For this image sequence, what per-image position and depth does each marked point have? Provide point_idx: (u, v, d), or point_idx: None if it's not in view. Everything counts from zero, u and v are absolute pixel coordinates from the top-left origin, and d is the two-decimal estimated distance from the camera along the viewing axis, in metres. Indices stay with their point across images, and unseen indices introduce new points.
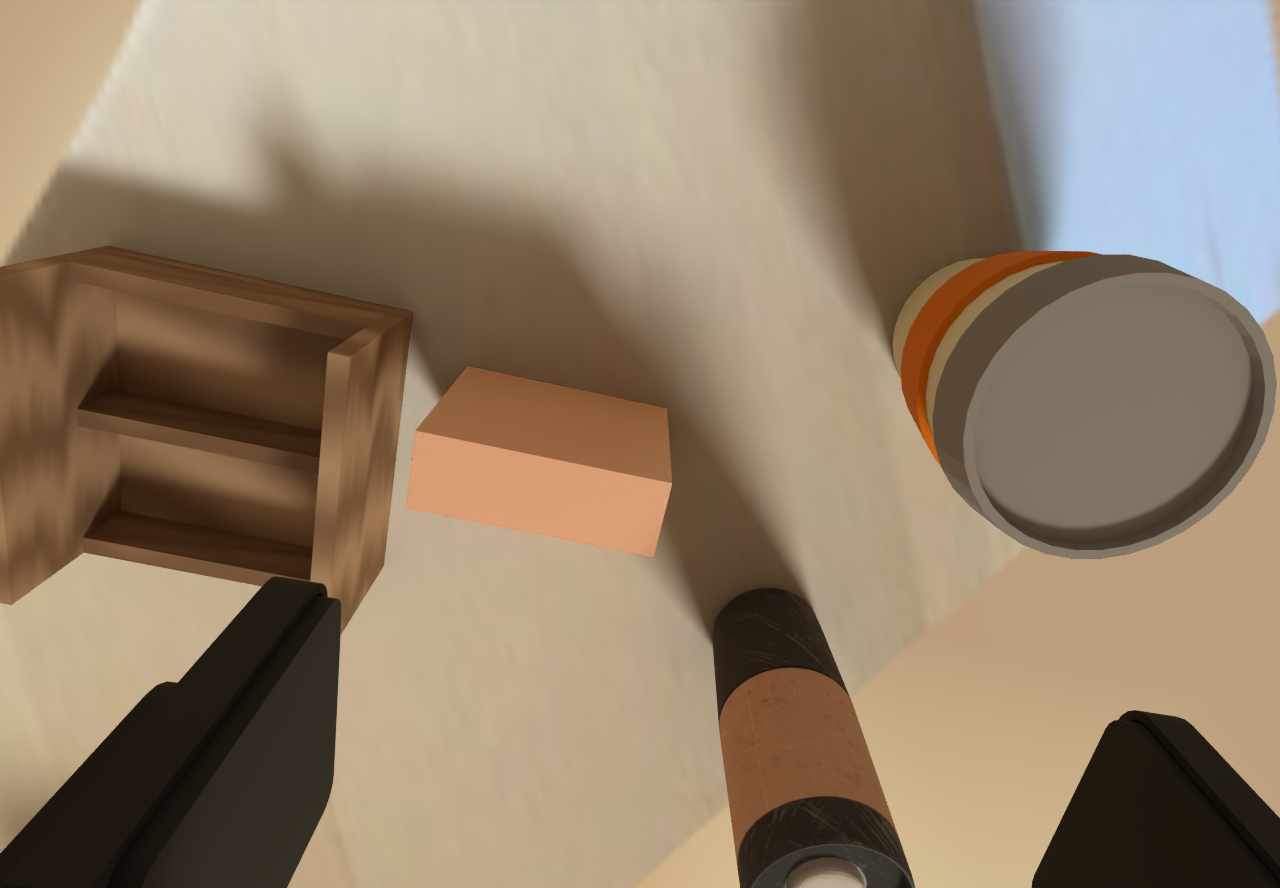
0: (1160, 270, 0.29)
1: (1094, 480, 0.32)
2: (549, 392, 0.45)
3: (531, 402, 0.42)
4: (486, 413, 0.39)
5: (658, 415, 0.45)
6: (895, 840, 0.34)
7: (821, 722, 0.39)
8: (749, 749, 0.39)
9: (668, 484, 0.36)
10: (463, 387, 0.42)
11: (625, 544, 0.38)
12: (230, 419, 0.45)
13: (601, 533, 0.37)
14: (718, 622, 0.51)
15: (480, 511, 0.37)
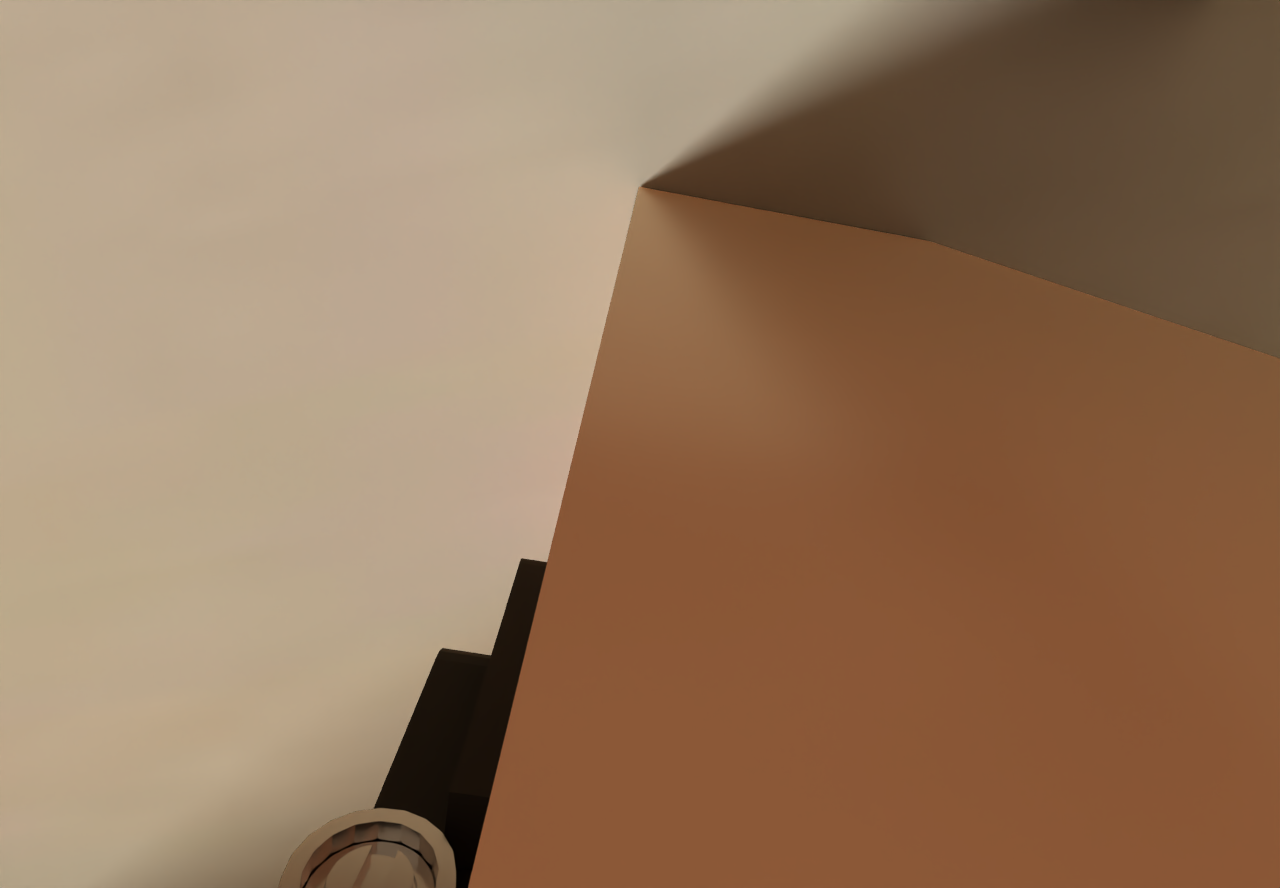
0: None
1: None
2: None
3: None
4: None
5: None
6: None
7: None
8: None
9: None
10: None
11: None
12: None
13: None
14: None
15: None
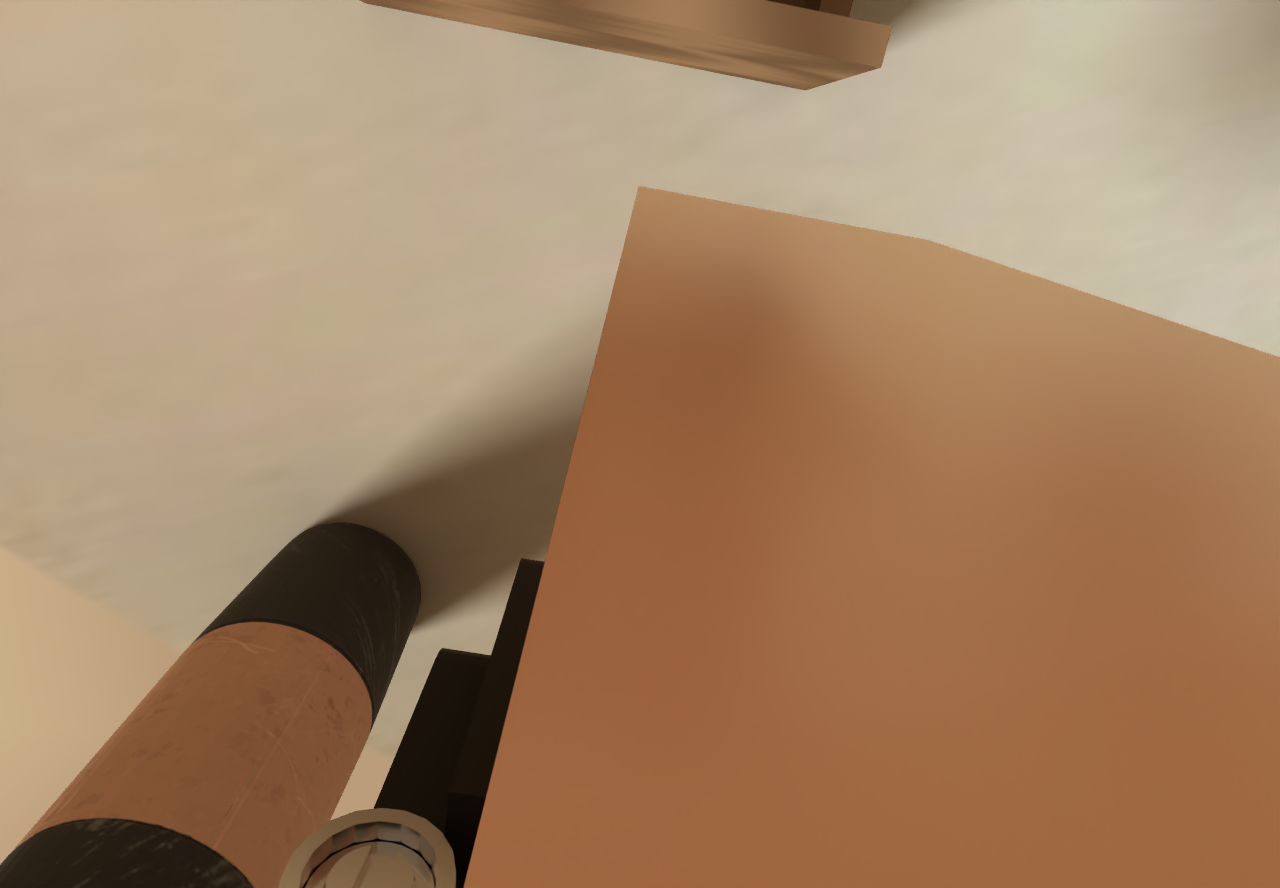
0: None
1: None
2: None
3: None
4: None
5: None
6: None
7: (332, 802, 0.27)
8: (268, 733, 0.25)
9: None
10: None
11: None
12: None
13: None
14: (361, 534, 0.36)
15: None
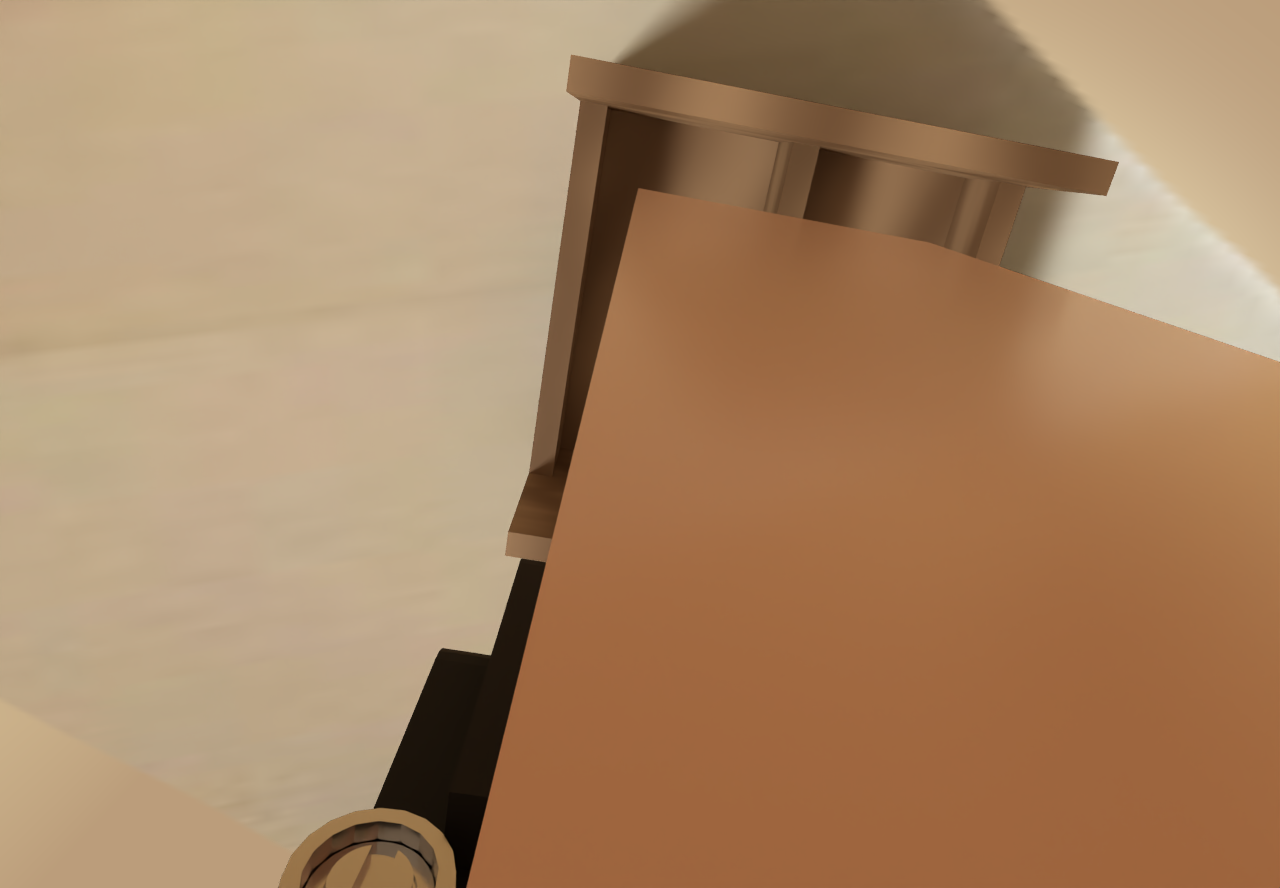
0: None
1: None
2: None
3: None
4: None
5: None
6: None
7: None
8: None
9: None
10: None
11: None
12: None
13: None
14: None
15: None
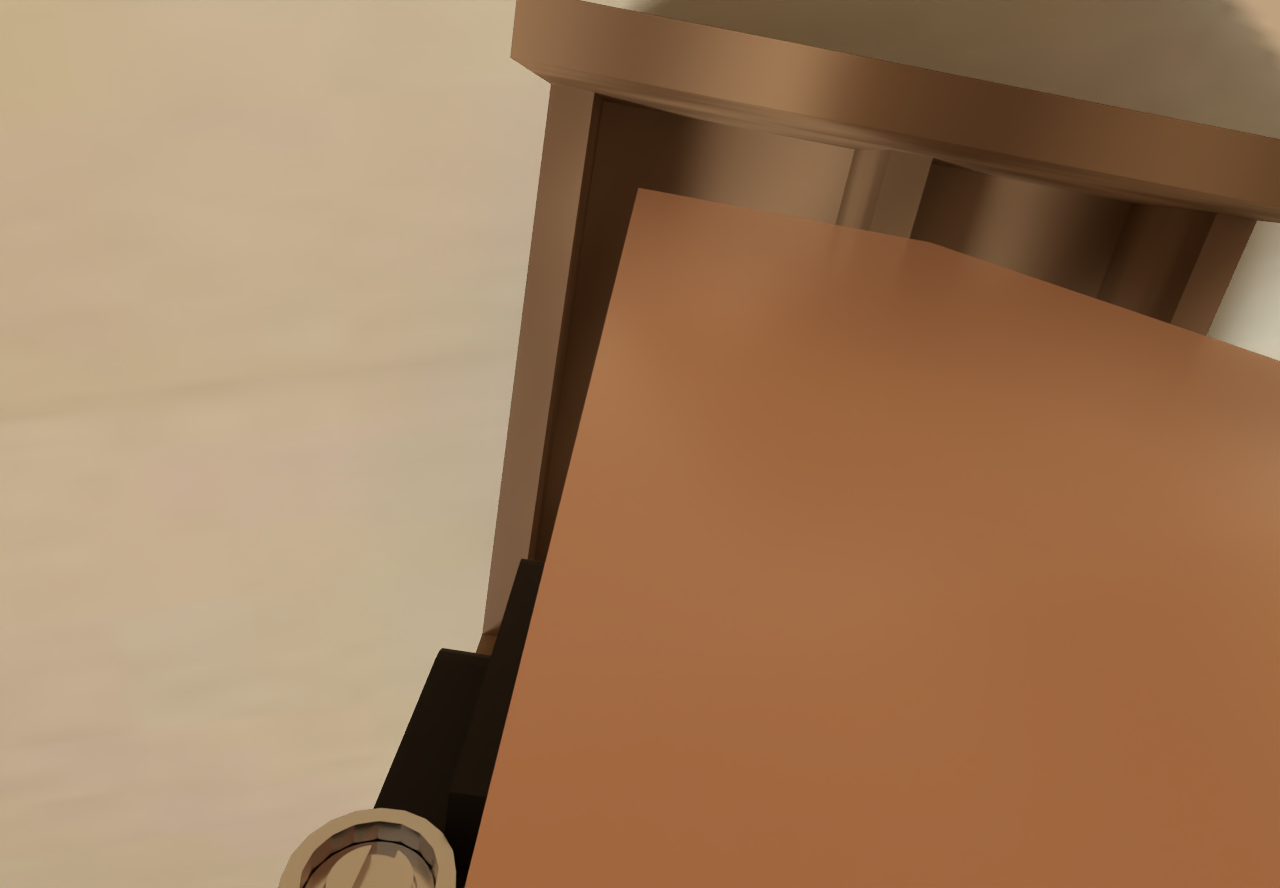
0: None
1: None
2: None
3: None
4: None
5: None
6: None
7: None
8: None
9: None
10: None
11: None
12: None
13: None
14: None
15: None
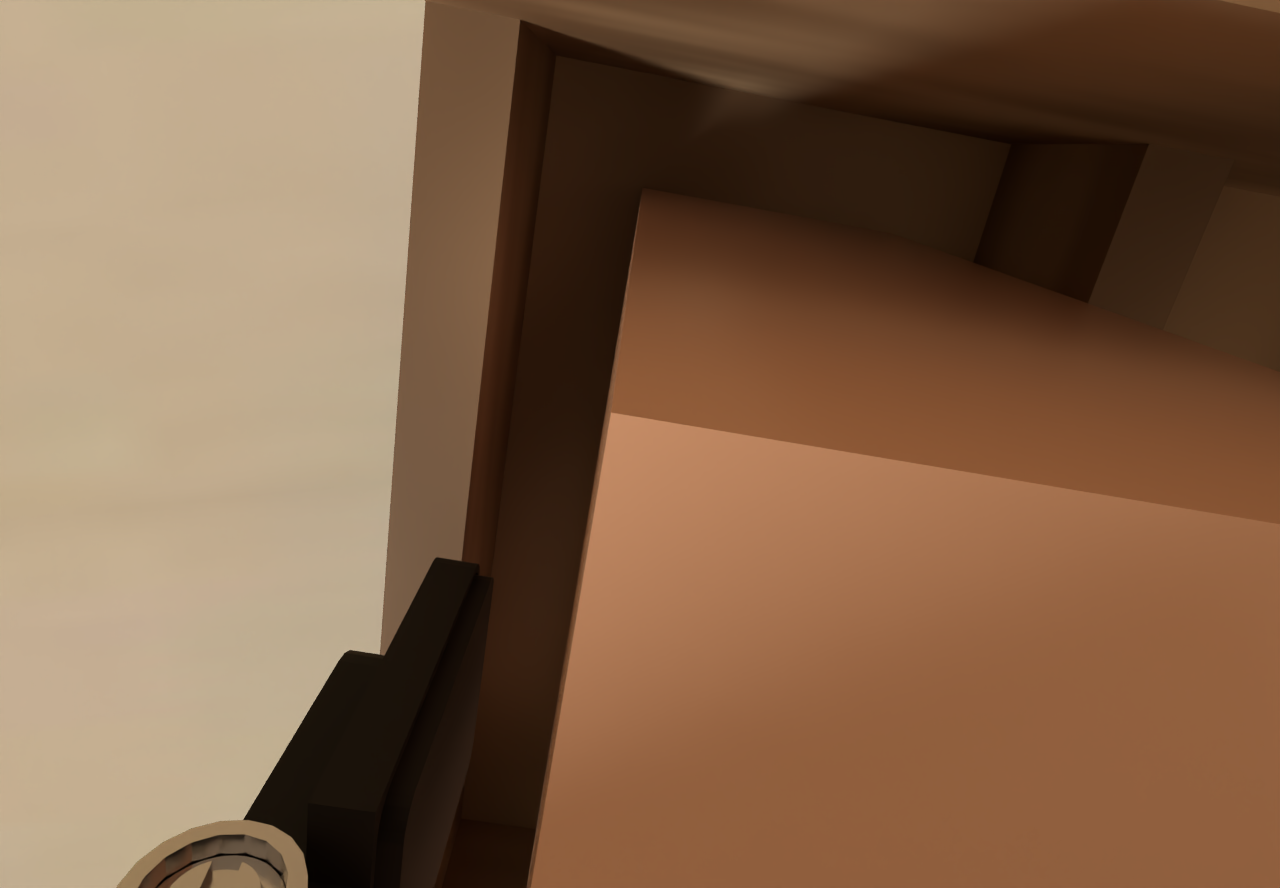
0: None
1: None
2: None
3: None
4: None
5: None
6: None
7: None
8: None
9: None
10: None
11: None
12: None
13: None
14: None
15: None
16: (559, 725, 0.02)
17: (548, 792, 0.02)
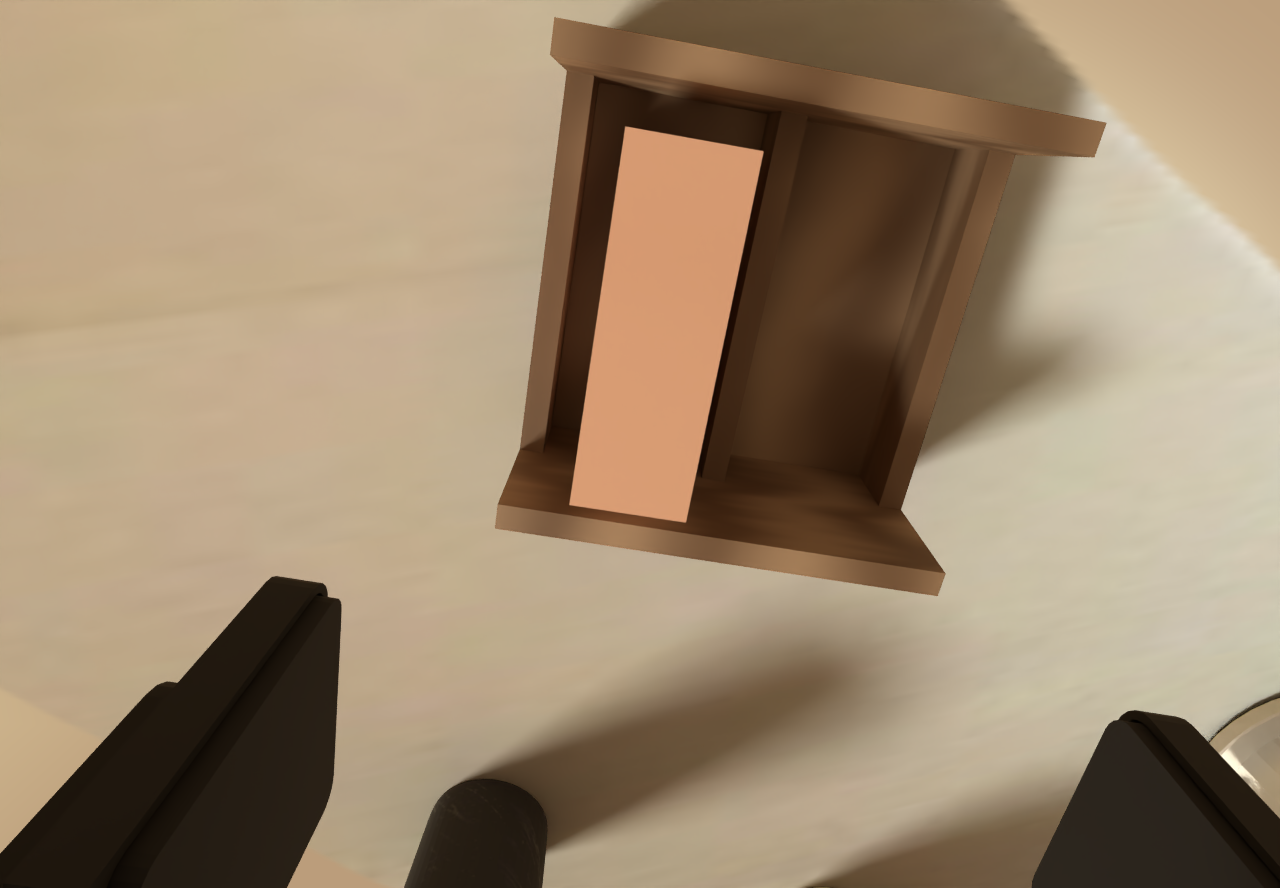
0: None
1: None
2: None
3: None
4: None
5: None
6: None
7: None
8: None
9: (684, 518, 0.27)
10: None
11: (587, 466, 0.26)
12: None
13: (602, 434, 0.25)
14: (504, 793, 0.45)
15: (626, 253, 0.23)
16: (620, 161, 0.22)
17: None
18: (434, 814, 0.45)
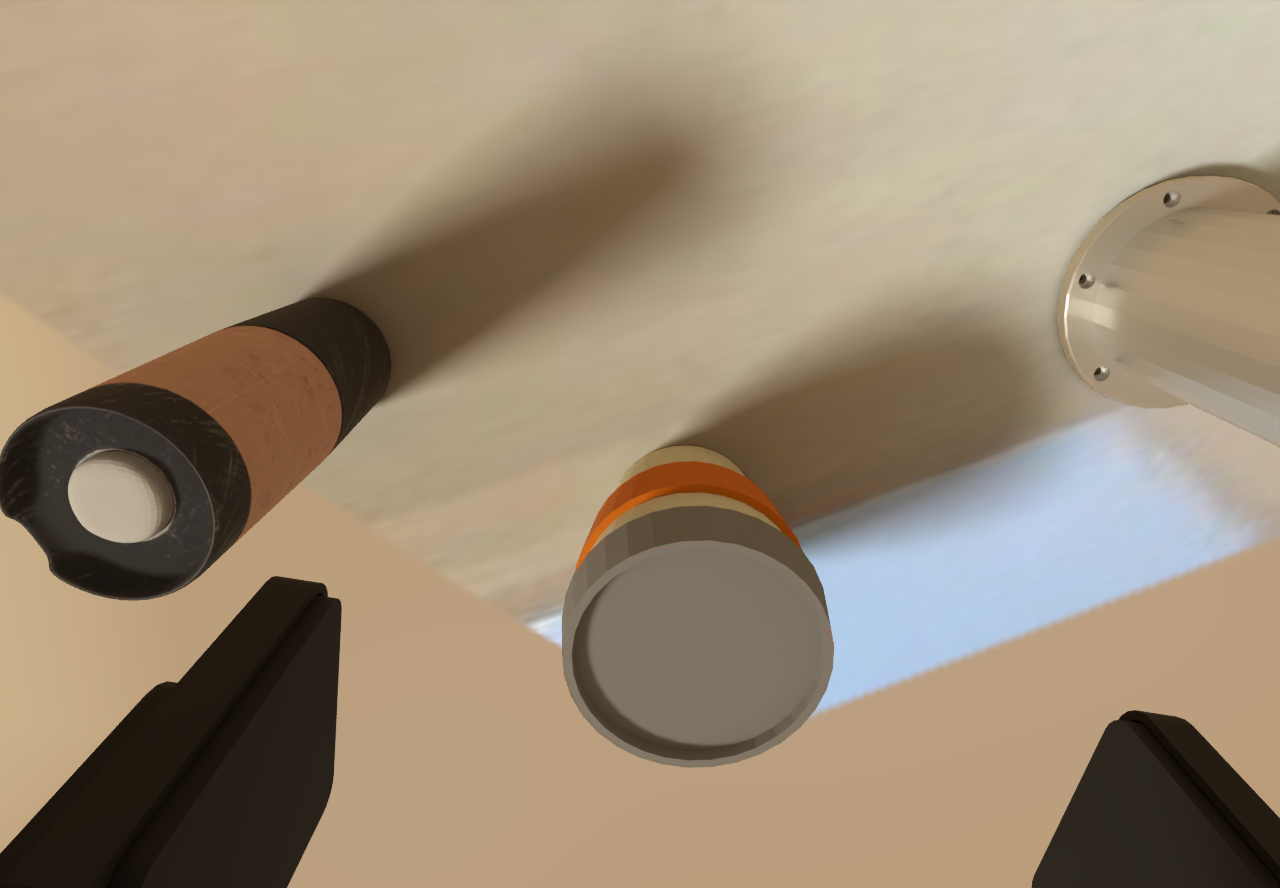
0: None
1: (637, 653, 0.35)
2: None
3: None
4: None
5: None
6: None
7: (305, 449, 0.33)
8: (253, 373, 0.32)
9: None
10: None
11: None
12: None
13: None
14: (339, 304, 0.43)
15: None
16: None
17: None
18: None
